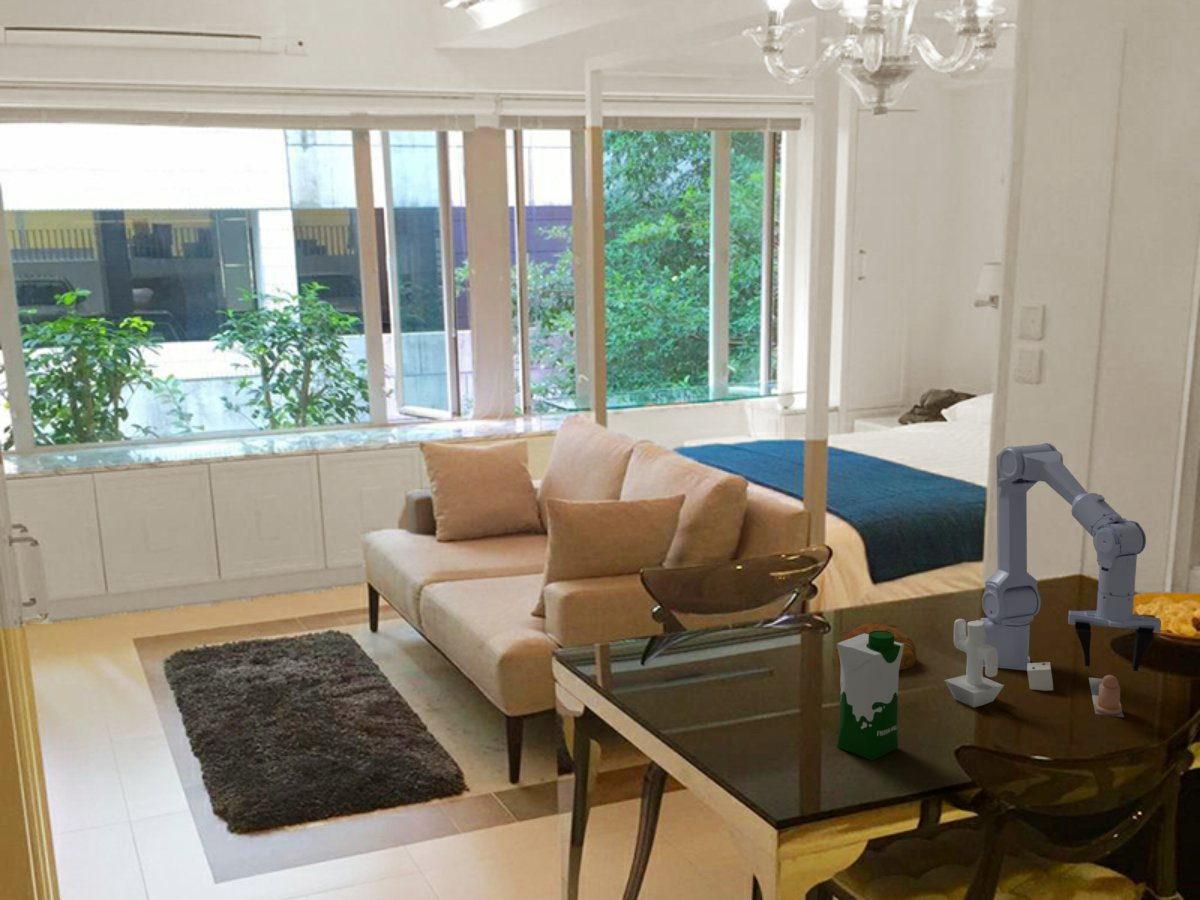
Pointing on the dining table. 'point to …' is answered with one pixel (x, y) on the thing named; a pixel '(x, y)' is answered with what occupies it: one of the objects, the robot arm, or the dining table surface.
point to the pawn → (1109, 696)
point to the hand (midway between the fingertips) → (1110, 666)
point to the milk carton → (869, 694)
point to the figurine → (975, 665)
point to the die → (1040, 676)
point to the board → (1095, 694)
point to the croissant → (909, 647)
